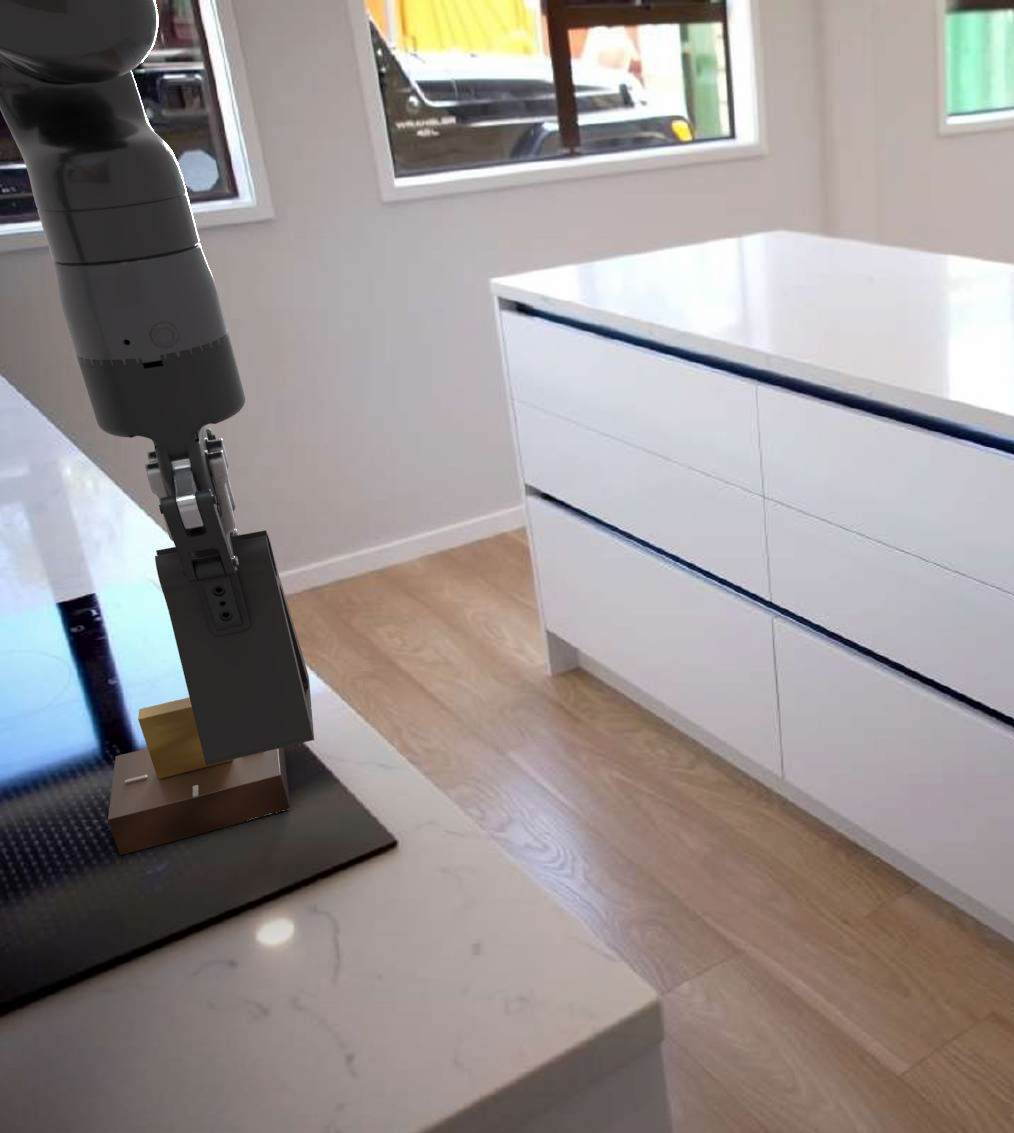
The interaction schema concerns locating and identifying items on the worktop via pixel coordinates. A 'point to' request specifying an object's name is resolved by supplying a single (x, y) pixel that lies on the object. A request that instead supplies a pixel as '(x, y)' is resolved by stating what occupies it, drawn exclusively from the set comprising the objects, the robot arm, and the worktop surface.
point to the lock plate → (192, 797)
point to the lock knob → (172, 738)
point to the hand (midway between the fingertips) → (231, 617)
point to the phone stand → (240, 658)
